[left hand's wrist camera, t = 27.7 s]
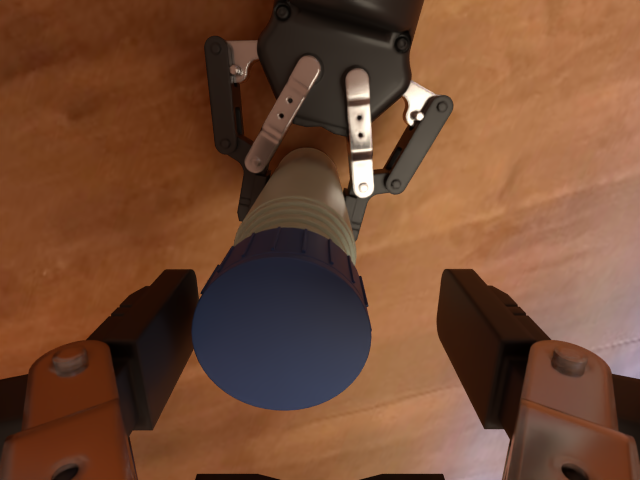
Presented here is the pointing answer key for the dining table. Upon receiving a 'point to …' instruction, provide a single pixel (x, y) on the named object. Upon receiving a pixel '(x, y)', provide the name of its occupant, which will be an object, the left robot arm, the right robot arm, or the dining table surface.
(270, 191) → the bottle
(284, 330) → the cap
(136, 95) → the dining table surface
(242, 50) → the right robot arm
